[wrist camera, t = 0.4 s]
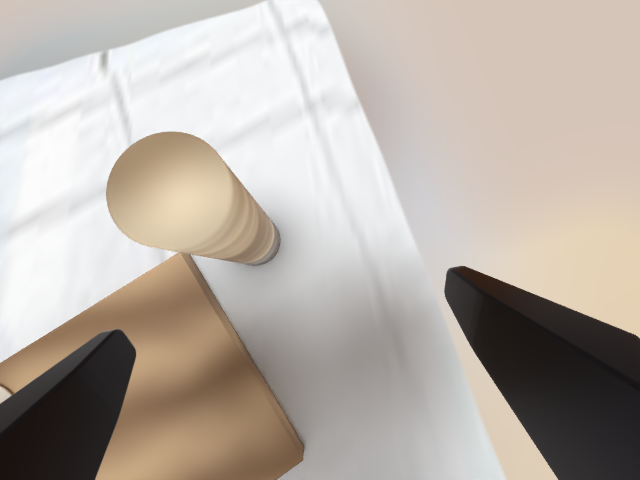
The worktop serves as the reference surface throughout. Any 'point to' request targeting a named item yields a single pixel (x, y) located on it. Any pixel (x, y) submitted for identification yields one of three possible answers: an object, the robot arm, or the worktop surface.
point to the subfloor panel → (175, 384)
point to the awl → (187, 201)
